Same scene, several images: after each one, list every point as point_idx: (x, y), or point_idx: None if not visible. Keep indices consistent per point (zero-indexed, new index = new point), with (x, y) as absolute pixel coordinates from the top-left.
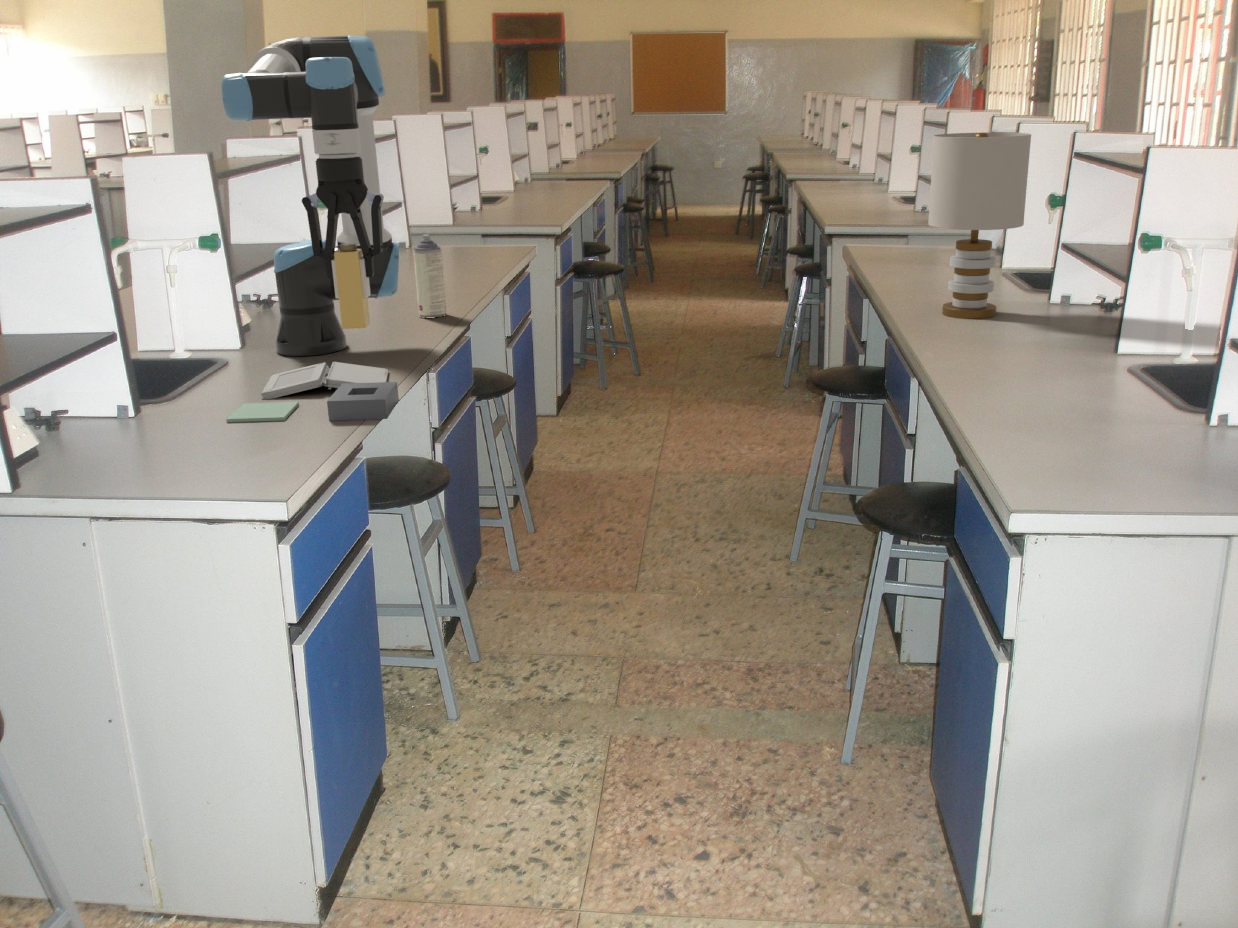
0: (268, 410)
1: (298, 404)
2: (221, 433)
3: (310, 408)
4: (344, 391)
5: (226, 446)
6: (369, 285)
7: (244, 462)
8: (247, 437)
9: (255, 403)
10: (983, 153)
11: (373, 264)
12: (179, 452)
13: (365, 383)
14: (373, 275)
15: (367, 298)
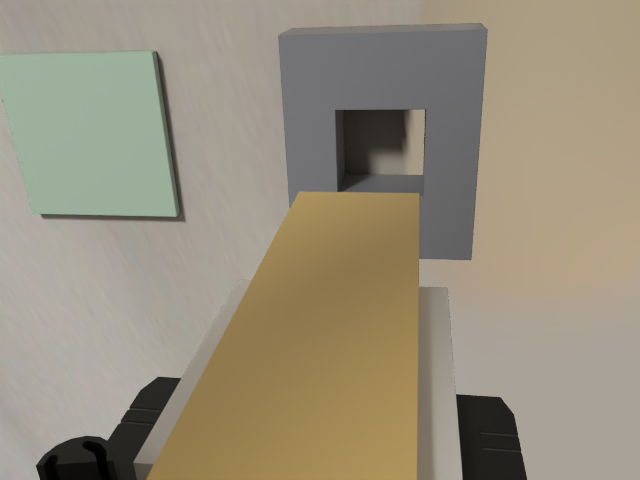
0: (103, 144)
1: (155, 56)
2: (73, 295)
3: (206, 93)
4: (316, 148)
5: (133, 384)
6: (449, 328)
7: None
8: (149, 332)
9: (27, 59)
10: None
11: (524, 473)
12: (58, 403)
13: (366, 43)
14: (501, 402)
15: (418, 251)
